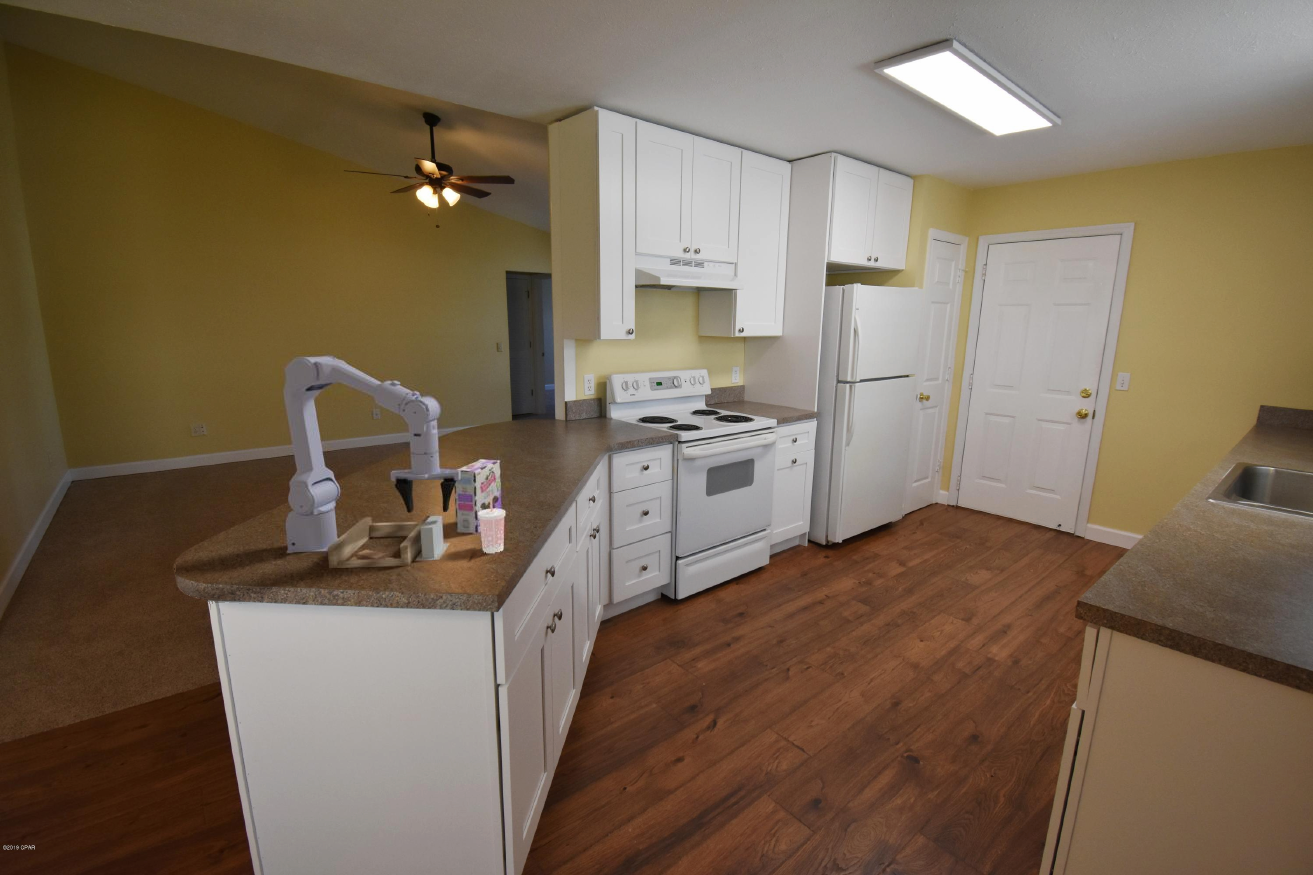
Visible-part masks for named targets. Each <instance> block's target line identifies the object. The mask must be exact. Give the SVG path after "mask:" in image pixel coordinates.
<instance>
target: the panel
mask: <svg viewBox="0 0 1313 875" xmlns="http://www.w3.org/2000/svg"><path fill="white" fill-rule="evenodd" d="M429 516H430V517H429V519H428V520H427V521H426V522H425V523H424V524H423V525H422V527H421V543H422V549H421V552H422V558H435V556H436V555H437V553H438V552H439V550H440V549H441V548H442V546H443V545H444V544H443V543H444V531H443V530H444V529H443V528H444V527H443V516H442V515H429Z"/></svg>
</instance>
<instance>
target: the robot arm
mask: <svg viewBox="0 0 1313 875" xmlns="http://www.w3.org/2000/svg"><path fill="white" fill-rule="evenodd" d="M284 373H285V382H284V388H283V398H284V405H285V409H286V411H285V412H286V415H287V416H286V417H287V422H288V426H289V427H288V428H289V431H290V438H291V444H292V450H293V454H294V461H295V465H296V466H295V467H296V472H295V474H294V475H293V476H292V477H291V479H290V481H289V482H288V483H289V493H288V496H287V497H288V498H287V499H288V500H287V501H288V503H289V506H290V508H291V509H292V510H291V511H290V512H289V513H288V515H287V516H286V520H285V532H286V533H285V534H286V543H287V551H286V554H293V553H299V552H300V553H306V552H308V553H309V552H312V553H313V552H328V549H327V548H328V547H329V546H330V545H331V544H333V543H334V542H335V541H336V540H338V539H339V538H340V537H339V538H338V531H337V522H336V511H335V507H336V506H337V504H336V502H337V500H338V499H339V498H340V495H341V488H340V485H339V483H338V482H337V480H336V478H335V474H334V472H333V471H332V470H331V469H329V468H327V467H326V464H325V459H324V453H323V452H324V451H323V446H322V441H321V440H322V439H321V434H320V428H319V423H318V417H317V410H316V405H315V398H316V397H317V396H319V394H320V393H321V392H322V391H324V389H326V388H328V387H330V386H332V385H333V384H336V383H341V384H344V385H345V386H349V387H351V388H353V389H356V390H358V391H359V392H363V393H365V394H368V395H370V396H372V397H373V398H374V402H375V403H376V404H377V405H379V406H381V407H383V408H385V409H387V410H389V411H391V412H393V413H395V414H397V415H399V416H401V417H403V420H404V421H405V423H406V424H407V425H408V431H409V446H410V447H409V448H410V462H411V463H410V464H411V469H403V470H392V471H391V472H390V474H389V475H390V482H395V484H394V488H395V490H396V491H397V492H398V494H399V495H400V497H401V498H402V501H403V502H404V505H405V508H406V512H407V514H408V513H409V514H410V513H412V512H413V511H414V506H415V505H414V497H413V488H414V486H413V485H414V481H425V480H426V481H441V480H442V481H441V482H440V489H441V494H442V495H441V496H442V512H443V513H447V512H448V511H449V508H450V501H451V498H452V493H453V491H454V489H455V484H456V481H457V480H460V478H461V470H457V469H448V468H440V453H439V449H440V448H439V435H438V419H439V418H440V417H441V414H442V406H441V405H440V403H439V401H438V400H437V399H436V398H434V397H433V396H431V395H423V396H421V394H420V392H419V391H417V390H414V391H411V390H410V389H408V388H406V387H403V386H402V385H401V382H400V381H398V380H391V381H390V380H386V381H384V382H381V381H379V380H377V379H376V378H374V377H371V375H367V374H366V373H364V371H363V372H362V371H361V370H359V369H357V368H355V367H353V366H351V365H349V364H348V363H347V362H346V361H344V360H342V359H338V358H336V357H335V356H332V355H323V356H297V357H295V358H293V359H292V360H291V361H290V362H289V363H288V364H287V365H286V366H285V367H284Z"/></svg>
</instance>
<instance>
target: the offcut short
mask: <svg viewBox="0 0 1313 875" xmlns="http://www.w3.org/2000/svg"><path fill="white" fill-rule="evenodd" d="M356 558H357V559H360V560H372V559H386V558H387V554H386V553H384V552H383V553H382V552H377V551H374V550H370V549H365V550H363V551H360V552H357V553H356Z"/></svg>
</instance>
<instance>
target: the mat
mask: <svg viewBox="0 0 1313 875" xmlns="http://www.w3.org/2000/svg"><path fill="white" fill-rule="evenodd" d="M443 544H444V545H443V546H442V548H441V549H440V550H439V552H438V553H437V555H436V556H435V558H422V551H420V552H419V553H418V555H417V556H416V557H415V559H414V561H415V562H417V561H418V562H420V561H439V560H440V559H441V558H442V556H443V555H444V553H445V551H446V550H447V548H448V547H449V545H450V544H451V542H443Z"/></svg>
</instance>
